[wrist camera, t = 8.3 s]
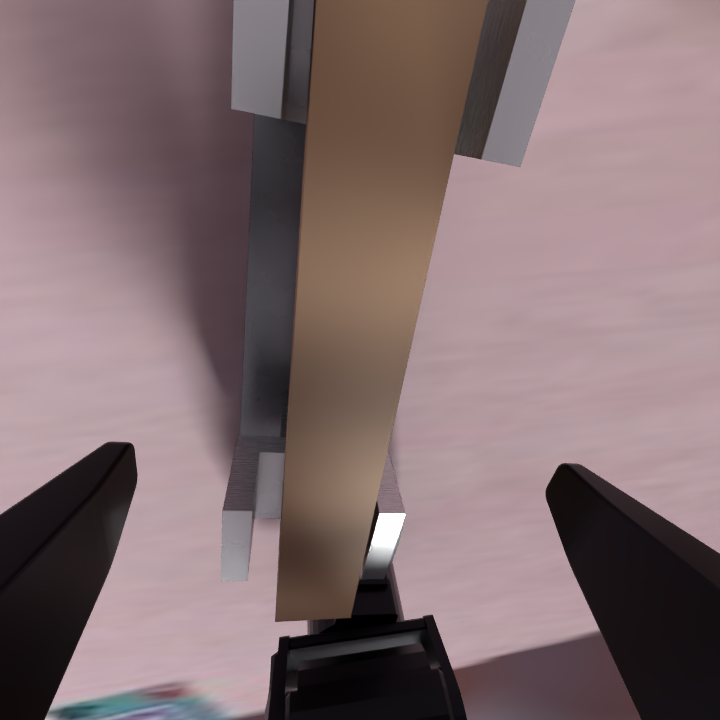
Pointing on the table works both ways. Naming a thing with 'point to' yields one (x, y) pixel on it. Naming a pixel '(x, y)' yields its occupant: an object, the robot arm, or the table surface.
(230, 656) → the table surface
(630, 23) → the table surface
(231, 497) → the bracket stand
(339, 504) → the rail
